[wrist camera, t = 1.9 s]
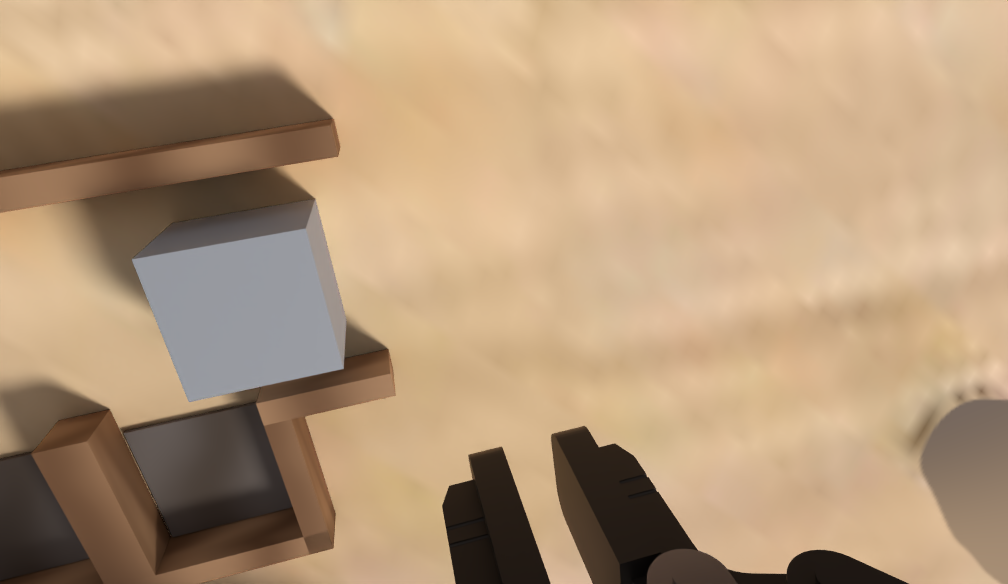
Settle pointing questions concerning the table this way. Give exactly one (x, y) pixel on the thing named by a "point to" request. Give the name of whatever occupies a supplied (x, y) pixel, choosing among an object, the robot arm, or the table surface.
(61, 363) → the table surface
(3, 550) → the trap lane
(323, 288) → the block
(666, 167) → the table surface
